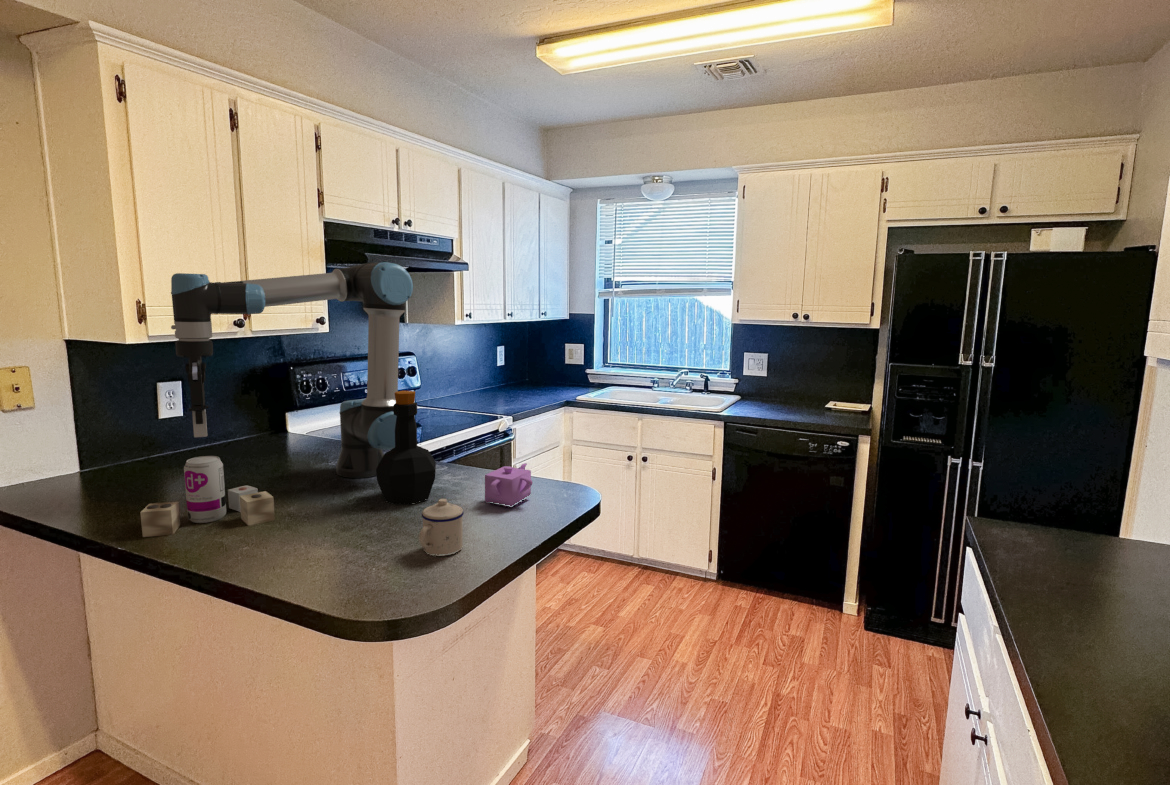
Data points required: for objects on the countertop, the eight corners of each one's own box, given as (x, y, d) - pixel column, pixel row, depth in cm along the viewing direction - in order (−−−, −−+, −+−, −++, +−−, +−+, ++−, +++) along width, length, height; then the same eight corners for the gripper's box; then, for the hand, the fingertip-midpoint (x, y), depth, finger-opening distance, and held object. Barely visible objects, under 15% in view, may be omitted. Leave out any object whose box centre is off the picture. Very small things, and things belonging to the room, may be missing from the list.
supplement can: (209, 525, 151) (204, 465, 148) (179, 522, 152) (174, 462, 150) (234, 514, 159) (230, 456, 156) (206, 510, 160) (201, 454, 158)
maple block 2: (266, 513, 160) (265, 490, 159) (274, 520, 155) (273, 496, 154) (241, 519, 156) (239, 495, 155) (248, 525, 151) (246, 501, 150)
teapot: (507, 489, 184) (507, 456, 182) (548, 496, 178) (549, 462, 176) (471, 507, 168) (471, 471, 166) (515, 516, 162) (516, 479, 160)
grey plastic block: (247, 503, 167) (246, 484, 166) (258, 506, 164) (257, 487, 164) (229, 508, 163) (227, 489, 162) (240, 512, 160) (238, 492, 159)
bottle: (445, 502, 171) (444, 394, 167) (384, 511, 163) (381, 398, 158) (427, 485, 185) (426, 385, 180) (370, 493, 177) (367, 389, 172)
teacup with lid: (440, 538, 147) (439, 490, 145) (471, 546, 143) (471, 497, 141) (404, 557, 136) (403, 506, 134) (437, 566, 132) (436, 513, 130)
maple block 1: (180, 525, 151) (178, 500, 150) (173, 534, 145) (170, 509, 144) (151, 527, 149) (149, 502, 148) (142, 537, 143) (140, 511, 142)
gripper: (177, 337, 152) (184, 431, 156) (172, 341, 141) (180, 443, 144) (213, 337, 156) (219, 429, 159) (211, 341, 144) (217, 440, 148)
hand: (200, 436), depth 152 cm, fingers closed
